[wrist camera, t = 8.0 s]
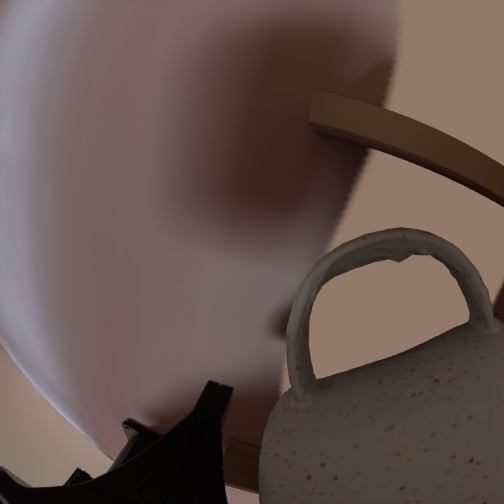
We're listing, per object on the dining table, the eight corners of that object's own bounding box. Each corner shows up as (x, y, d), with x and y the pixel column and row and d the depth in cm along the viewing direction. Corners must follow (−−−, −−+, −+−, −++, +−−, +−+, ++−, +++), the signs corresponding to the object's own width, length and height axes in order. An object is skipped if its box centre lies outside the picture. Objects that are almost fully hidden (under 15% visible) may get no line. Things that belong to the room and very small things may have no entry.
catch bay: (395, 471, 12) (394, 506, 9) (229, 442, 14) (213, 480, 11) (570, 237, 5) (610, 266, 2) (318, 111, 7) (314, 88, 4)
